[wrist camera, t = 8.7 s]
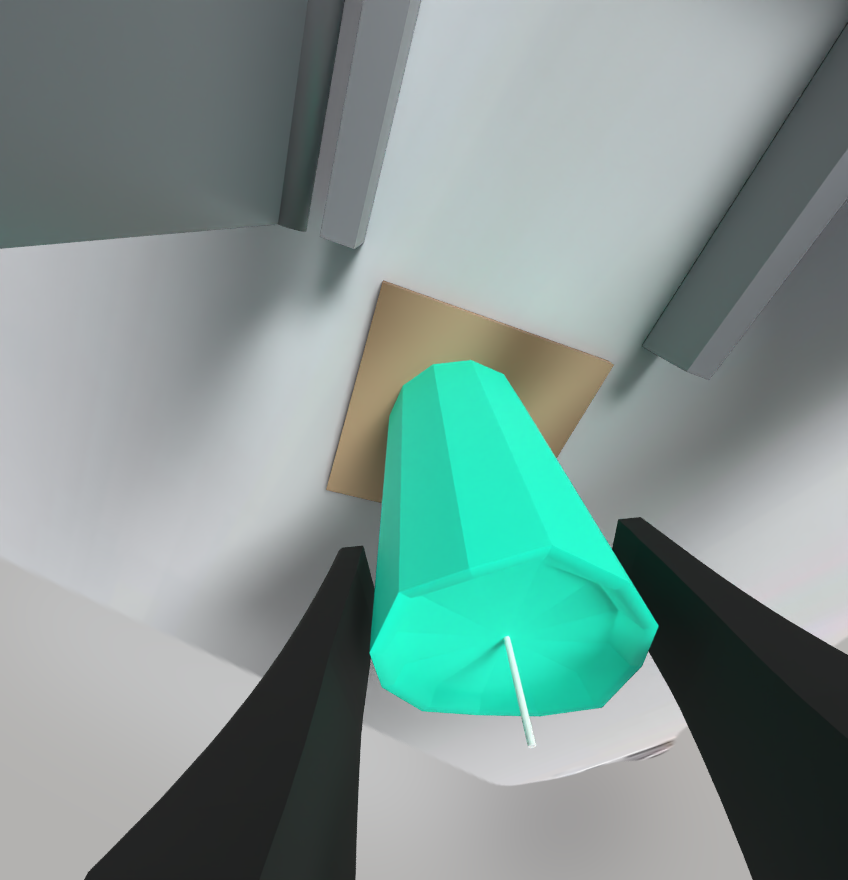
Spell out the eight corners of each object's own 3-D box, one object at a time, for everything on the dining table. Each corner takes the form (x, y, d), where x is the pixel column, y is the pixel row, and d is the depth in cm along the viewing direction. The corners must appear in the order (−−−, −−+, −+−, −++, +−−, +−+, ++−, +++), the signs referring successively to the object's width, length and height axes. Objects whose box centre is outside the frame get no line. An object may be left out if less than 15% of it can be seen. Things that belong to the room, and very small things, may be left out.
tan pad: (608, 360, 16) (613, 365, 16) (507, 526, 21) (510, 533, 21) (383, 280, 14) (382, 282, 14) (328, 483, 19) (326, 489, 19)
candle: (550, 413, 17) (774, 723, 7) (461, 497, 19) (524, 825, 9) (449, 329, 15) (546, 590, 5) (362, 434, 17) (295, 768, 7)
